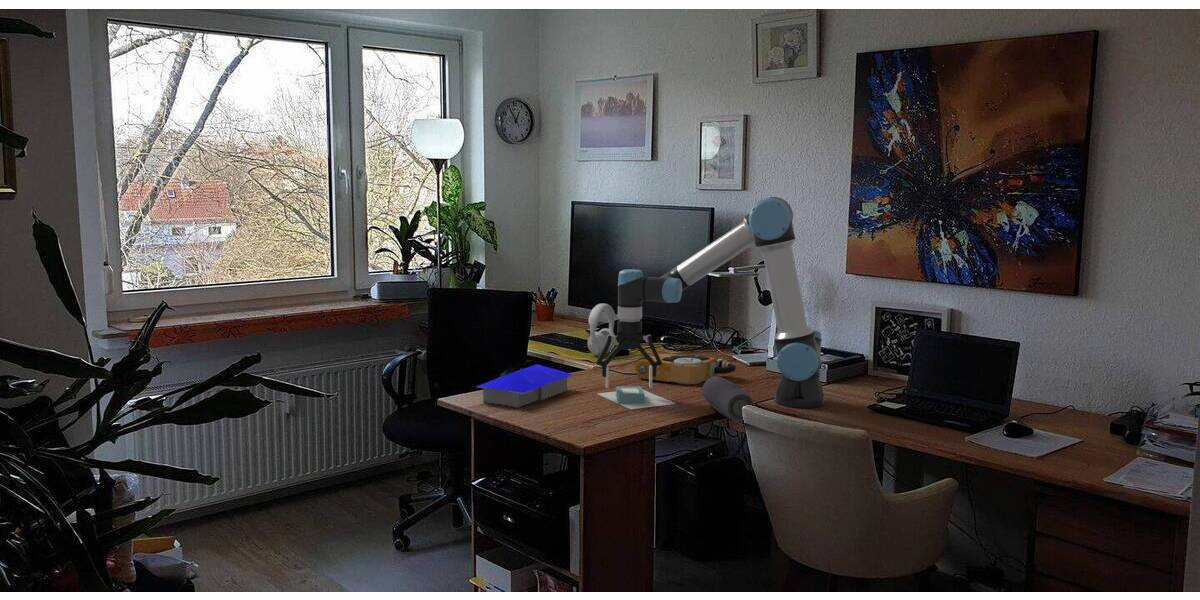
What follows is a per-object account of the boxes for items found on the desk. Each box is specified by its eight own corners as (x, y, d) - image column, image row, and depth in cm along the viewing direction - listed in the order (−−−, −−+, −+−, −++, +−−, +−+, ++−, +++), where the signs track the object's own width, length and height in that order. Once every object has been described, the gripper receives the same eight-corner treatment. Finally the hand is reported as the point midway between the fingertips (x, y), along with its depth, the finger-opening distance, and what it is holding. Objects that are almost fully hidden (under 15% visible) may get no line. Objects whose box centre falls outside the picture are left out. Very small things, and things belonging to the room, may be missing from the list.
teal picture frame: (641, 386, 308) (644, 393, 298) (640, 395, 308) (644, 403, 299) (615, 386, 307) (618, 393, 298) (615, 395, 308) (618, 403, 298)
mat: (676, 405, 299) (676, 403, 299) (630, 411, 292) (630, 409, 291) (640, 390, 318) (640, 388, 318) (596, 395, 311) (596, 393, 311)
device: (663, 346, 352) (740, 355, 337) (662, 368, 353) (739, 378, 338) (632, 356, 333) (712, 366, 318) (631, 380, 334) (711, 391, 319)
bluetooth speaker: (756, 425, 277) (757, 390, 276) (725, 426, 275) (726, 392, 274) (729, 405, 299) (730, 373, 298) (700, 407, 297) (700, 375, 296)
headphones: (602, 350, 386) (602, 300, 384) (620, 351, 383) (620, 301, 380) (582, 358, 370) (582, 306, 367) (601, 360, 367) (601, 307, 364)
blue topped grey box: (523, 410, 292) (523, 379, 291) (476, 403, 300) (475, 373, 299) (573, 390, 318) (573, 362, 317) (528, 384, 326) (528, 357, 325)
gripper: (668, 317, 306) (667, 384, 309) (588, 317, 304) (588, 384, 307) (671, 321, 298) (670, 389, 301) (589, 321, 297) (589, 389, 300)
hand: (628, 387), depth 304 cm, fingers open, 13 cm apart
